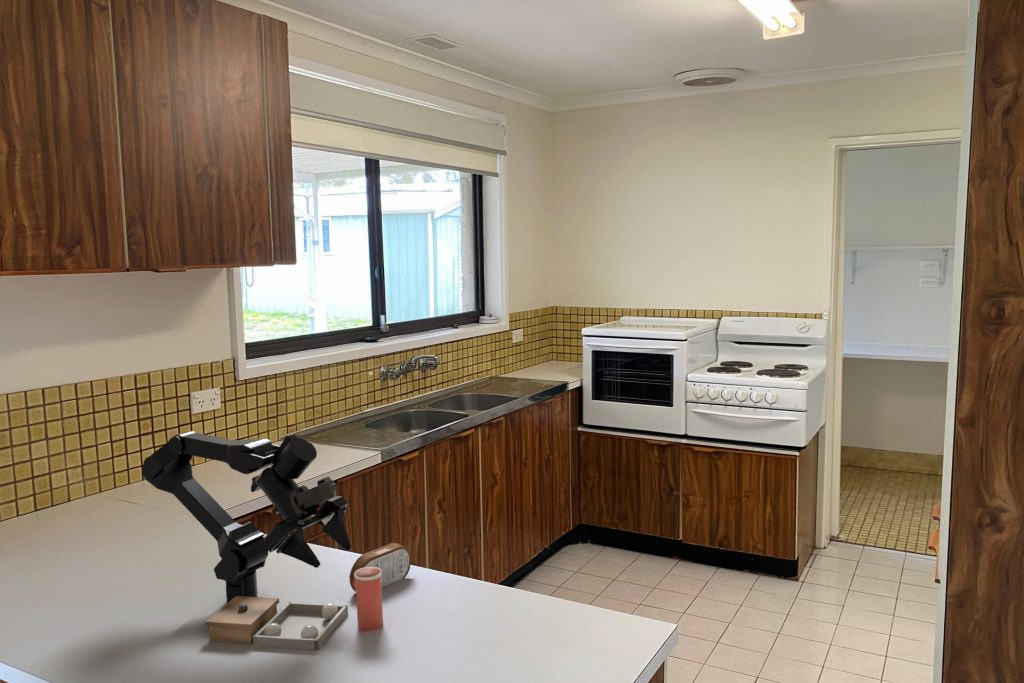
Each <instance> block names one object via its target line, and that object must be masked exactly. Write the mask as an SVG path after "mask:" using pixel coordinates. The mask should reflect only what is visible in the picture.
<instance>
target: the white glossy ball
mask: <svg viewBox="0 0 1024 683" xmlns="http://www.w3.org/2000/svg"><path fill="white" fill-rule="evenodd" d="M317 636H318V630H317V628H316V627H315V626H313V625H308V626H305V627H304V628H303V629H302V631H301V638H311V639H315V638H316V637H317Z"/></svg>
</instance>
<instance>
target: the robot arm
mask: <svg viewBox="0 0 1024 683" xmlns="http://www.w3.org/2000/svg"><path fill="white" fill-rule="evenodd" d="M317 454H318V452H317V448H316V447H315V446H314V444H313V443H312V442H309V441H308V440H306V439H304V438H300V437H298V436H297V435H296V434H295V433H291V434H287V435H286V436H285V437H284V438H283V440H282V443H281V444H280V445H277V444H275V443H274V444H273V442H272V440H269V439H268V438H262V437H261V438H249V439H241V440H240V439H239V440H235V439H229V438H224V437H219V436H214V435H209V434H203V433H199V432H196V431H193V430H188V431H185V432H181V433H177V434H174V435H173V436H172V437H171V438H169V439H168V441H167V442H166V443H165V444H164V445H162V446H161V447H159V448H158V449H157V450H155V451H154V452H153V453H151V454H150V455H149V456H147V457H145V459H144V460H143V463H142V466H141V472H142V476H143V478H144V479H145V480H146V481H147V482H148V483H149V484H151V486H153V487H154V488H155V489H157V490H160V491H163V492H165V493H169V494H172V495H173V496H174V497H175V498H176V499H177V500H178V501H179V502H180V503H181V504H182V505H183V506H184V507H185V509H186V510H187V511H188V512H189V513H190V514H191V515H192V516H193V517H194V518H195V519H196V520H197V522H199V524H201V526H203V528H204V529H205V530H206V531H207V532H208V533H209V534H210V536H212V537H213V538H214V540H216V542H217V549H218V550H217V551H218V555H219V558H221V559H220V560H219V562H218V563H217V564H216V565H215V567H214V568H213V571H214V575H215V577H216V579H217V580H223V581H225V596H226V597H225V598H226V604H227V603H228V602H230V601H231V600H232V599H233V598H235V597H236V596H246V597H258V593H259V592H258V581H257V580H258V579H257V570H259V569H261V568H263V567H265V564H266V561H267V558H268V555H269V554H271V553H273V552H276V554H277V555H279V554H280V553H281V554H283V555H286V556H288V557H292V558H294V559H296V560H298V561H301V562H302V563H304V564H306V565H307V564H308V565H310V566H311V567H313V568H316V569H317V568H319V567H320V566H321V562H320V560H319V558H318V557H317V555H316V554H315V553H314V551H313V550H312V548H311V547H310V545H309V544H308V542H307V541H306V539H305V534H304V530H305V529H307V528H308V527H310V526H312V525H315V524H317V525H319V526H321V527H322V528H321V531H322V532H323V533H325V534H326V535H328V537H330V539H332V540H333V541H335V543H337V544H338V545H339V546H341V547H342V548H343V549H345V550H346V551H349V550H350V549H352V544H351V541H350V538H349V534H348V532H347V528H346V527H345V522H344V516H345V515H344V514H345V513H346V511H347V506H348V505H349V503H348V501H346V499H345V497H344V496H343V495H342V496H341V495H335V493H334V492H336V490H337V485H336V482H335V481H334V480H333V479H332V478H331V477H329V476H328V475H327V476H326V477H323V478H321V479H318V480H317V483H316V484H317V485H316V486H314V487H311V488H308V486H306V485H302V486H300V485H298V483H297V482H296V481H295V480H298V479H299V478H300V477H301V476H302V475H303V474H304V473H305V471H306V470H307V469H308V468H309V466H310V465H311V464H312V463H313V462H314V461H315V460H316V458H317ZM195 457H198V458H203V459H208V460H213V461H216V462H217V461H218V462H221V463H224V464H225V463H226V464H227V465H228V467H229V468H231V470H234V471H236V472H237V473H238V472H239V473H241V474H243V475H250V474H253V473H256V472H258V471H260V470H262V471H261V472H260V474H258V475H256V476H253V477H252V478H251V486H250V492H251V493H254V492H258V491H260V490H261V492H263V493H264V495H265V496H266V497H267V499H268V500H269V501H270V503H271V504H272V505H273V506H274V507H273V509H271V512H272V513H273V514H274V515H278V514H280V515H281V517H282V518H283V520H281V521H278V522H277V523H275V525H273V527H272V528H271V529H270V530H269V531H268V533H267V534H266V535H265V533H264V532H262V531H260V530H259V529H258V528H257V526H256V525H255V524H254V523H253V522H251V521H249V522H247V523H245V524H239V523H238V522H236V521H235V520H234V518H232V516H231V515H230V514H229V513H228V512H227V511H226V510H225V509H224V508H223V507H222V506H221V505H220V504H219V503H218V502H217V500H216V499H214V497H213V496H212V495H211V494H209V492H208V491H207V490H206V489H205V488H204V487H203V486H202V485H201V484H200V483H199V482H198V481H197V480H196V479H195V478H194V475H193V468H192V464H191V462H192V460H193V459H194V458H195Z"/></svg>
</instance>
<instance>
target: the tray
mask: <svg viewBox="0 0 1024 683" xmlns="http://www.w3.org/2000/svg"><path fill="white" fill-rule="evenodd" d="M326 604H327V603H313V602H295V601H294V602H292V601H289V602H287V603H286V604H285V605H284V606H283V607H282V608H281V609H280V610H279V611H277V614H276V615H275V616H274V617H273V618H272V619H271V620H270V621H269V622H267V623H266V624H265V625H264V626H263V627H262V628H261V629H260V630H259V631H258V632H257V633H256V634H255V635H254V636H253V642H252V643H253V644H252V645H253V647H264V648H278V649H291V650H292V649H293V650H294V649H295V650H309V651H310V650H311V651H318V650H319V649H320V648H321V647H322V646H323V644H324V643H325V642H326V641H327V639H328V638H330V636H331V635H332V634H333V633H334V631H335V630H336V629H337V628H338V627H339V625H340V624H341V623H342V622H343V621H344V619H345V618H346V617H347V616H348V615H349V610H348V608H349V607H348V604H335V605H336V606H337V608H338V613H337V614H336V615H335V617H334V618H333V619H332V620H327V619H325V618H324V617H323V615H322V609H323V607H324V606H325V605H326ZM270 623H277V624H279V625H280V627H281V630H282V632H281V635H280V636H265V635H264V630H265V628H266V626H267V625H268V624H270ZM308 625H313V626H315V627H316V628H317V630H318V636H317V637H316V638H315V639H311V638H301V631H302V629H303V628H304V627H305V626H308Z"/></svg>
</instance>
